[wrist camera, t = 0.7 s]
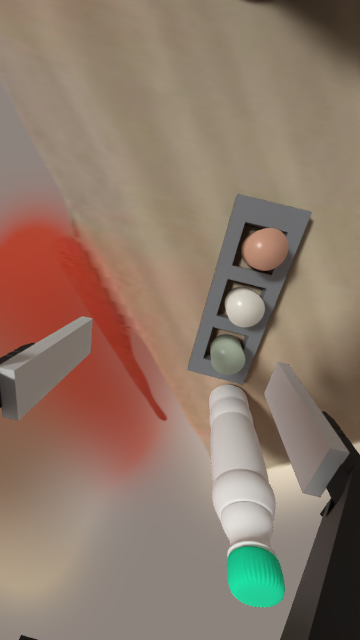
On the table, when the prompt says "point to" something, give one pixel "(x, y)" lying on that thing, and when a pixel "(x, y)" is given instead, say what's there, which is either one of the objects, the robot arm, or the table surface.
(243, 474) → the water bottle
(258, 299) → the button ivory
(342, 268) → the table surface
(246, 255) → the button terracotta
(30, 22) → the table surface
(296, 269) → the table surface
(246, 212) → the panel
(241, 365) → the button sage
